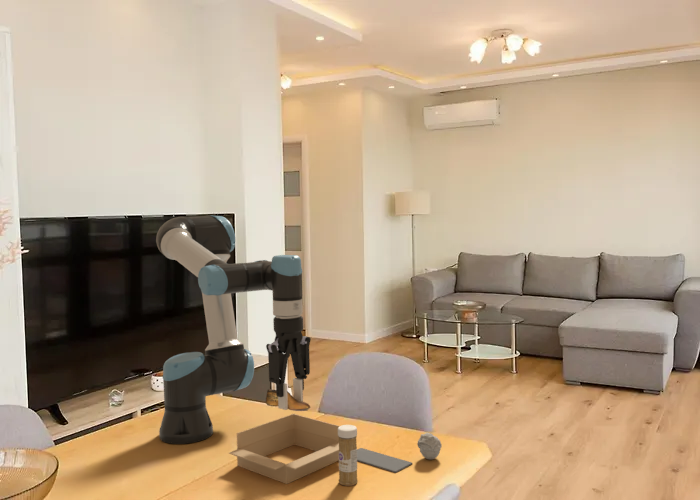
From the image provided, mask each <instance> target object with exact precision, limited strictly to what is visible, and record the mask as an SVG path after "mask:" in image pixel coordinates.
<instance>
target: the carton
mask: <svg viewBox="0 0 700 500" xmlns="http://www.w3.org/2000/svg"><path fill="white" fill-rule="evenodd" d="M339 426H340V425H337V424H335V423H329V422H326V421H323V420H319V419H315V418H312V417H308V416H303V415H299V414H296V413H291V414H289V415H286V416H282V417H279V418H277V419H275V420H272V421H268V422H265V423H262V424H259V425H257V426H254V427H251V428H248V429H245V430H242V431H239V432H237V433H236V449H234V450H231V451H230V452H228V454H230V455H233V456H235V457H236V460H237V462H236V465H237V467H240V468H243V469H245V470H248V471H251V472H253V473H256V474H258V475H259V474H260V475H262V476H264V477H267V478H270V479H272V480H275V481H279V482H281V483H283V484H286V485H288V484H290V483H292V482H294V481H296V480H298V479H301V478H303V477H305V476H307V475H311V474H312V473H315V472H317V471H318V470H321V469H324V468H325V467H327V466H329V465H333V464H334V463H336V462H339V437H338V427H339ZM292 446H297V447H298V446H299V447H302V448H305V449H308V450H311V451H314V452H312V453H310V454H307V455H305V456H302V457H299V458H298V459H295V460H293V461H290V462H288V463H284V462H281V461H278V460H275V459H273V458H270V457H267V456H269V455H271V454H274V453H277V452H279V451H281V450H284V449H286V448H290V447H292Z"/></svg>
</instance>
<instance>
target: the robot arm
mask: <svg viewBox="0 0 700 500" xmlns="http://www.w3.org/2000/svg"><path fill="white" fill-rule="evenodd" d="M155 237H156V239H155V243H156V246H157V248H158V250H159V252H160V253H161V254H162V255H163V256H165V258H167V259H169V260H173V261H174V260H175V261H177V262H178V263H179V264H180V265H182V267H184V269H187V270H188V271H189V272H190V273H192V275H194V276H195V277H196V278H197V282H198V286H199V289H200V292H201V295H202V302H203V309H204V310H203V311H204V315H205V316H204V317H205V323H206V325H205V326H206V331H207V337H208V338H207V339H208V345H207V346H206V348H205V349H204V353H202V352H200V351H191V352H183V353H178V354H176V355H173V356H171V357H169V358H168V359H167V360H166V361H165V362H164V363H163V366H162V369H163V370H162V374H163V375H162V381H163V401H164V405H163V406H164V413H163V416H162V419H161V422H160V427H159V430H158V433H159V435H158V436H159V440H160V441H161V442H163V443H167V444H173V445H182V444H183V445H185V444H192V443H197V442H201V441H204V440H207V439H208V438H210V437H211V436H212V435H213V433H214V428H213V423H212V420H211V417H210V415H209V412H208V409H207V405H206V404H207V403H206V402H207V401H206V400H207V399H206V397H208V396H213V395H219V394H224V393H230V392H236V391H238V390H242V389H245V388H247V387H248V386H249V385H250V384H251V383H252V380H253V378H254V374H255V361H254V356H253V355H252V352H251V351H250V350H249V349H246V348H245V346H244V343H243V342H242V341H241V340H239V338H238V333H237V327H236V326H237V325H236V319H235V311H234V306H233V299H232V294H238V293H246V292H256V291H257V292H258V291H272V314H273V316H274V317H273V322H272V323H273V331H274V333H275V338H274V341H273V342H272V343H266V346H265V348H266V350H267V354H268V356H267V357H268V380H269V382H270V383H272V384H275V390H276V395H277V396H278V406H277V408H278V409H281V410H284V411H287V410H289V409H288V397H287V391H288V384H287V383H285V381H286V374H287V367H288V361H289V358H291V362H292V366H293V372H294V375H295V377H294V378H292V389H293V391H292V392H293V395H292V396H293V397H294V398H295V399H296V400H299V401H303V402H304V392H303V391H304V389H305V380H306V379H307V378H308V375H310V374H311V371H310V370H311V368H310V366H311V365H310V362H311V361H310V345H311V337H310V336H306V335H304V336H303V333H302V332H303V330H304V317H303V316H302V315H303V309H304V308H303V307H304V306H303V267H302V259H301V257H300V256H299V255H296V254H281V255H280V254H279V255H273V256H272V258H271V261H269V260H266V259H264V260H263V259H262V260H254V261H253V262H252V261H251V262H241V263H240V262H238V263H227V262H228V260H229V259H230V258H231V252H232V251H234V249H235V247H236V235H235V231H234V228H233V225H232V223H231V222H230V220H228V218H226V217H224V216H222V215H213V214H212V215H202V216H200V215H195V216H178V217H177V216H176V217H173V218H170V219H169V220H167V221H165V222H164V223H163V224H162V225H161V226H160V227H159V229H158V231H157V233H156V236H155Z"/></svg>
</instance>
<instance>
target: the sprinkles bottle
mask: <svg viewBox="0 0 700 500" xmlns="http://www.w3.org/2000/svg"><path fill="white" fill-rule="evenodd" d="M338 426H339V427H338V437H339V461H338V476H339V478H338V484H339V485H342V486H346V487H349V486H350V487H352V486H354V485H356V484H357V483H358V482H359V480H358V461H357V449H358V446H357V436H358V428H357V426H356V425H354V424H353V425H352V424H342V425H338Z"/></svg>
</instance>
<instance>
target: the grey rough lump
mask: <svg viewBox="0 0 700 500" xmlns="http://www.w3.org/2000/svg"><path fill="white" fill-rule="evenodd" d="M416 444H417V447H418V449H419V452H420V454H421V455H422V457H423V458H424V459H427V460H434V459H437V457H438V456H439V454H440V452H441V449H442V443H441V440H440V439H439V437H438V436H436V435H434V434H433V433H432V432H430V433H429V432H425V433H421V434H420V437H419V439H418V440H417V443H416Z"/></svg>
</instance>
